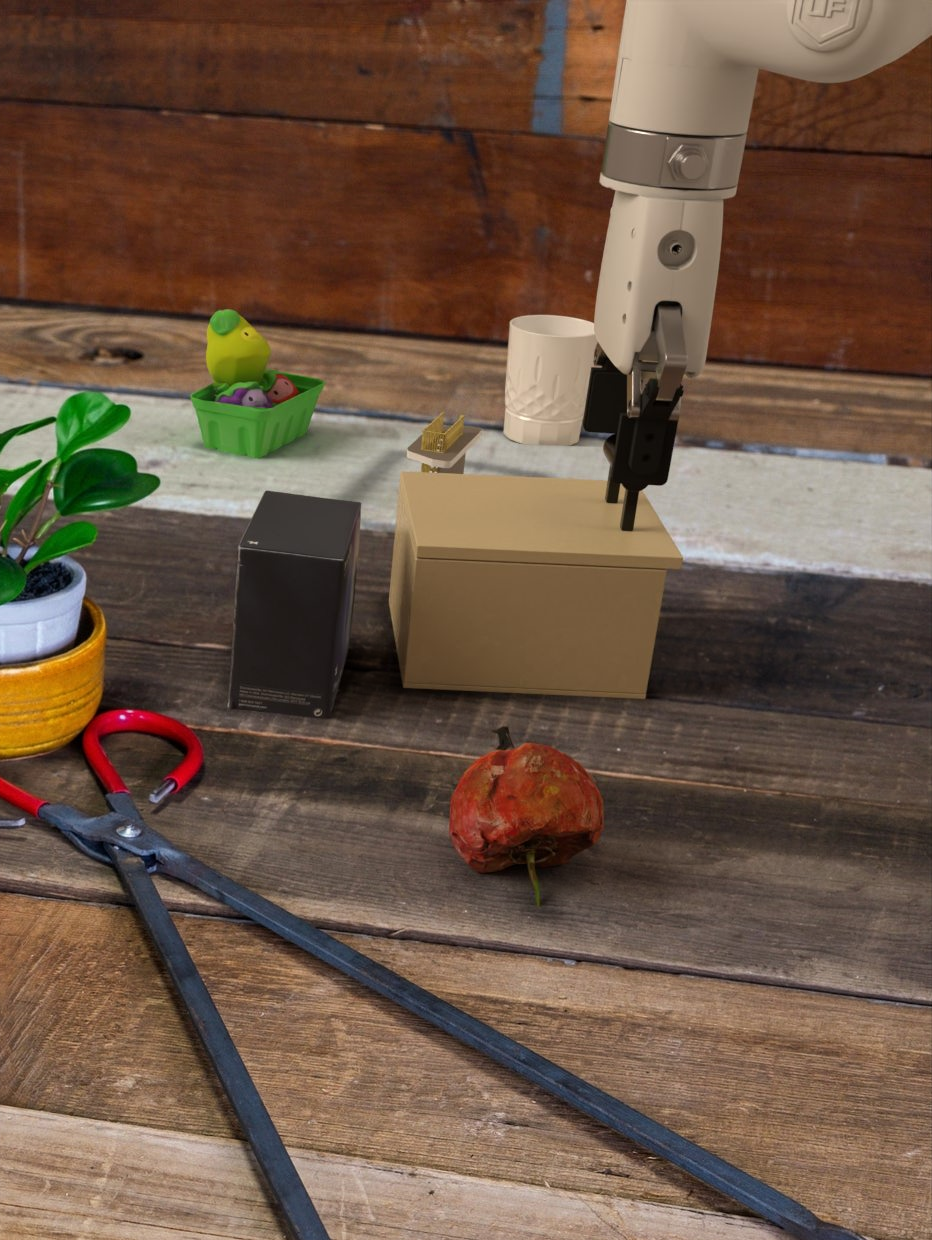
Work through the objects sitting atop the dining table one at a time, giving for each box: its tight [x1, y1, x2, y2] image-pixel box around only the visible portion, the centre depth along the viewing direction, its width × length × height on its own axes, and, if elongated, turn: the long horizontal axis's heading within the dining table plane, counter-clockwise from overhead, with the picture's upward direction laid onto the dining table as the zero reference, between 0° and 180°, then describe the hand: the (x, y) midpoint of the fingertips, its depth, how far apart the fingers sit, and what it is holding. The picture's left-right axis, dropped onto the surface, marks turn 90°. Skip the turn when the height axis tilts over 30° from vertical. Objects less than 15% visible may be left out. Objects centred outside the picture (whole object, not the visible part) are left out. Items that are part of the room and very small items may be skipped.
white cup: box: [503, 314, 598, 447], centre depth 148 cm, size 8×8×10 cm
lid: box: [399, 434, 684, 570], centre depth 102 cm, size 15×14×5 cm
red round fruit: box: [448, 725, 605, 908], centre depth 82 cm, size 7×7×10 cm
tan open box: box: [388, 483, 668, 700], centre depth 106 cm, size 15×14×9 cm
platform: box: [406, 411, 483, 474], centre depth 132 cm, size 12×18×7 cm, turn 157°
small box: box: [226, 490, 362, 720], centre depth 100 cm, size 11×6×10 cm, turn 170°
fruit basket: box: [189, 308, 326, 459], centre depth 143 cm, size 11×9×11 cm
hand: (622, 456), depth 102 cm, fingers open, 9 cm apart
